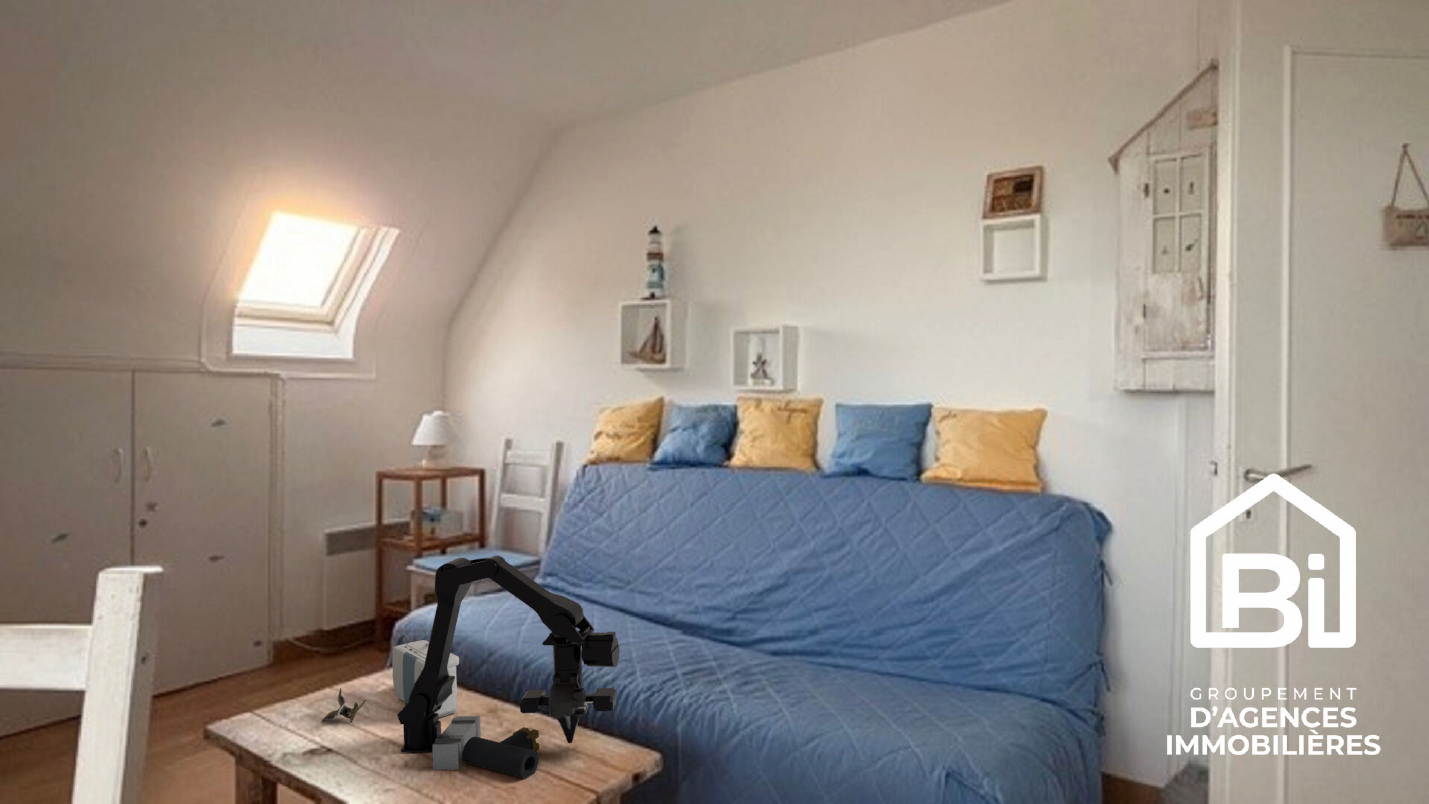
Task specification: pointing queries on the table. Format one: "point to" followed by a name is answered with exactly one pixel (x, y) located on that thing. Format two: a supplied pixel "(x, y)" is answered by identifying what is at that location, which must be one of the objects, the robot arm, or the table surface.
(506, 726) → the table surface
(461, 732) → the grey stepped block
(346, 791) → the table surface
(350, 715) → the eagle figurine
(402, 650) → the stereo radio cassette player
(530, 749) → the pipe connector
